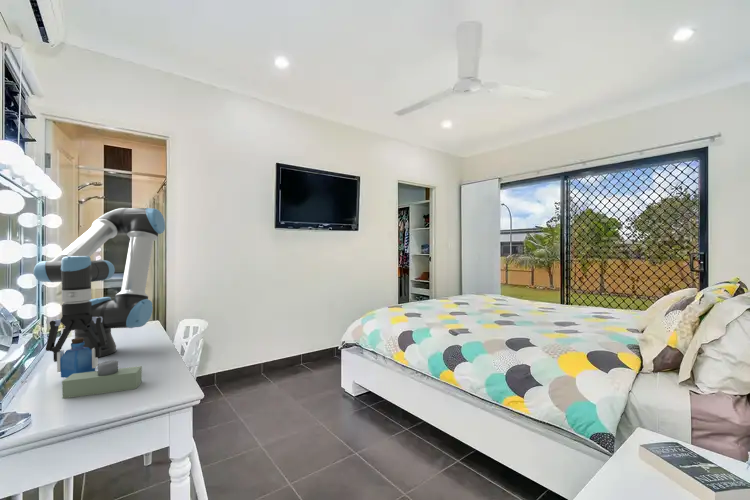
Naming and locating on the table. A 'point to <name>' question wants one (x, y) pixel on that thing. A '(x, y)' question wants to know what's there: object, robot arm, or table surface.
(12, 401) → the table surface
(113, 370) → the green slab with knob
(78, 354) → the perfume bottle
